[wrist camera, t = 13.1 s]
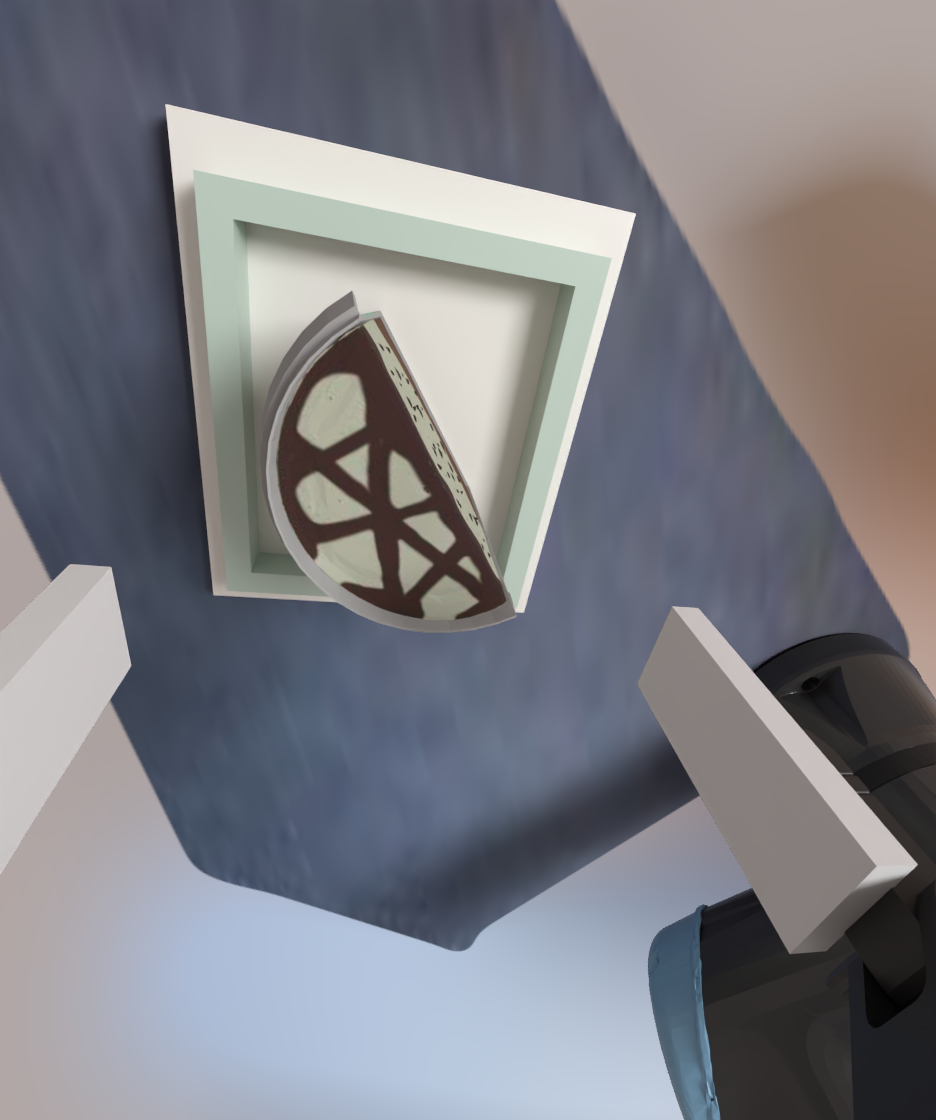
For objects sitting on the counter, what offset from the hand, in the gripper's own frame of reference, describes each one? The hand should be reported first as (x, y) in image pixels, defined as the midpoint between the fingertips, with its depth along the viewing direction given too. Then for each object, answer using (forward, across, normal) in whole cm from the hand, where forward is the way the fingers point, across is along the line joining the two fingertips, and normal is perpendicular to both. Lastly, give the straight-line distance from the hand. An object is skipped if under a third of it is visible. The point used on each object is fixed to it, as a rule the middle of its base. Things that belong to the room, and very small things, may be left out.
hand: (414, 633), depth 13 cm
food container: (+15, +2, 0) cm, 15 cm away
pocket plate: (+16, 0, 0) cm, 16 cm away
